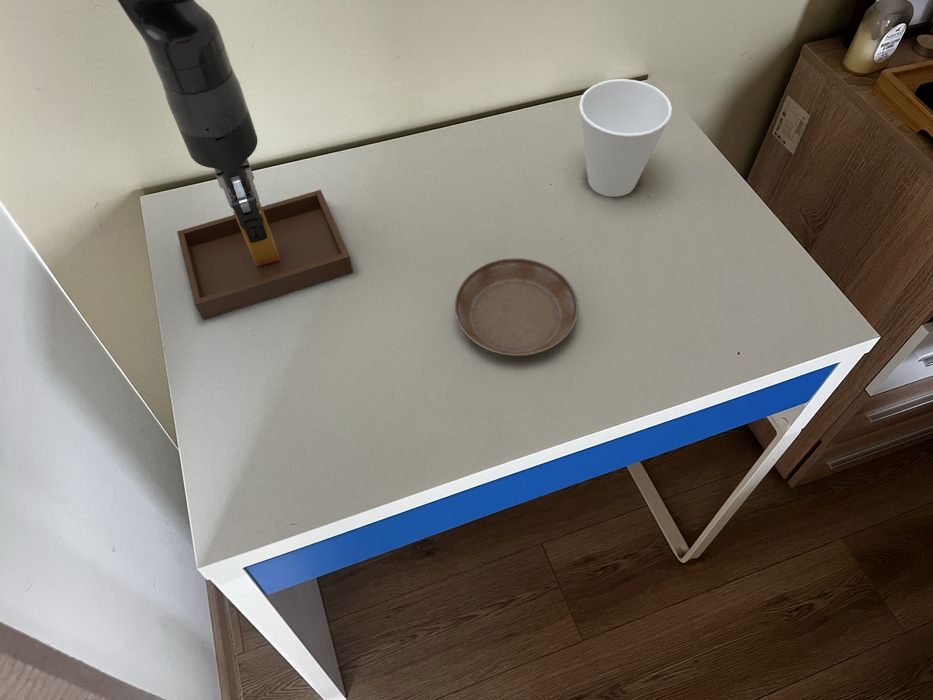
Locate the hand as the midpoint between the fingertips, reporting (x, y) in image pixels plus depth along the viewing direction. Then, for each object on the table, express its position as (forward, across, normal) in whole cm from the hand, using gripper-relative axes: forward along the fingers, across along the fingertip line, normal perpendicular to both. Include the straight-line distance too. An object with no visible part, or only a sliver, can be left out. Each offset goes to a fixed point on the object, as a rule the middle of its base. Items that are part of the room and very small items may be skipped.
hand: (255, 228), depth 88 cm
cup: (+6, +5, +49) cm, 50 cm away
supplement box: (+5, 0, 0) cm, 5 cm away
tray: (+6, 0, 0) cm, 6 cm away
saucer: (+6, +22, +26) cm, 35 cm away
